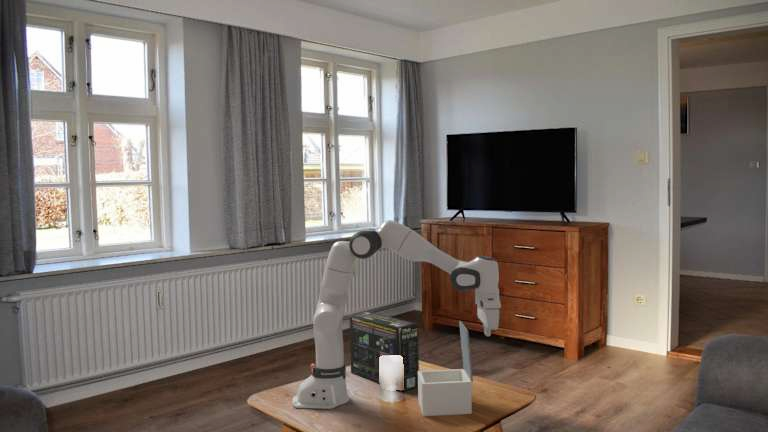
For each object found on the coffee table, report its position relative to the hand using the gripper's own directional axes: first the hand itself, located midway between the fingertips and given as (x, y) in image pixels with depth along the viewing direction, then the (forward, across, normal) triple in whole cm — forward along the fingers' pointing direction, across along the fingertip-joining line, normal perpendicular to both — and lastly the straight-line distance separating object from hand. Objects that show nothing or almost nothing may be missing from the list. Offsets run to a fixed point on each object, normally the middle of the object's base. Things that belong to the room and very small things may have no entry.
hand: (487, 335), depth 234 cm
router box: (+28, -35, -38) cm, 58 cm away
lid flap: (+6, 0, -9) cm, 10 cm away
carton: (+27, 0, -17) cm, 32 cm away
